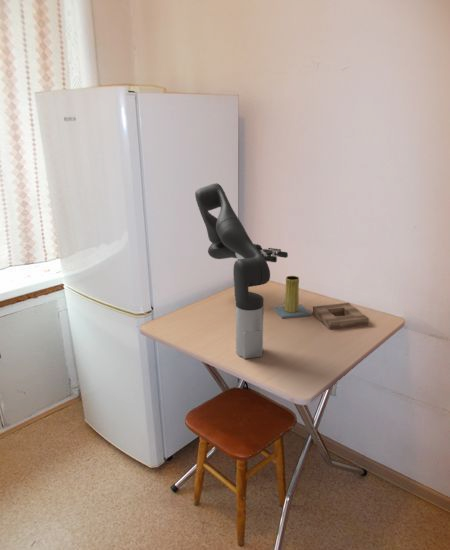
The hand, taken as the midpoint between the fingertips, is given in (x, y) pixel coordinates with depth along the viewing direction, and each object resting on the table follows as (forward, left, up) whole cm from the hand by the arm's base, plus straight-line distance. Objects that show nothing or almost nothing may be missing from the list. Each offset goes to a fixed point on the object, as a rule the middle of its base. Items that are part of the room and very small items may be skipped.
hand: (281, 257), depth 170 cm
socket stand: (-13, -20, -24) cm, 34 cm away
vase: (-2, -4, -23) cm, 23 cm away
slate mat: (-2, -4, -24) cm, 24 cm away
